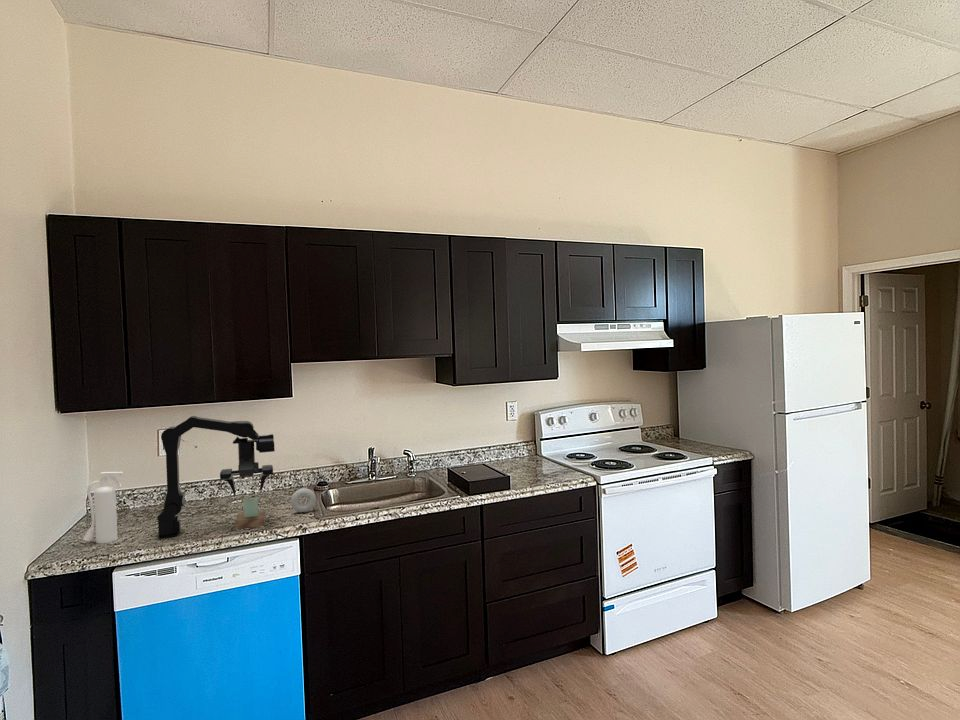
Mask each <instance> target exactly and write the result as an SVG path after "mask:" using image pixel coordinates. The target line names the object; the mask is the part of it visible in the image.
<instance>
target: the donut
mask: <svg viewBox="0 0 960 720" xmlns="http://www.w3.org/2000/svg"><path fill="white" fill-rule="evenodd" d="M303 497H304V498H306V499H307V501H306V502H305V503H304V504H303V503H301V502H300V500H301V498H303ZM316 501H317V497H316V494H315V492H314V491H313V490H311V489H309V488H306V487H304V488H303V487H302V488H299V489H297V490H296V491H294V493H293V494H292V495H291V498H290V505H291V507H292V509H293V510H294V511H296V512H298V513H302V512H304V513H308V512H309V511H311V510H312V509H313V508H314V507H315V504H316V503H317V502H316Z"/></svg>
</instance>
